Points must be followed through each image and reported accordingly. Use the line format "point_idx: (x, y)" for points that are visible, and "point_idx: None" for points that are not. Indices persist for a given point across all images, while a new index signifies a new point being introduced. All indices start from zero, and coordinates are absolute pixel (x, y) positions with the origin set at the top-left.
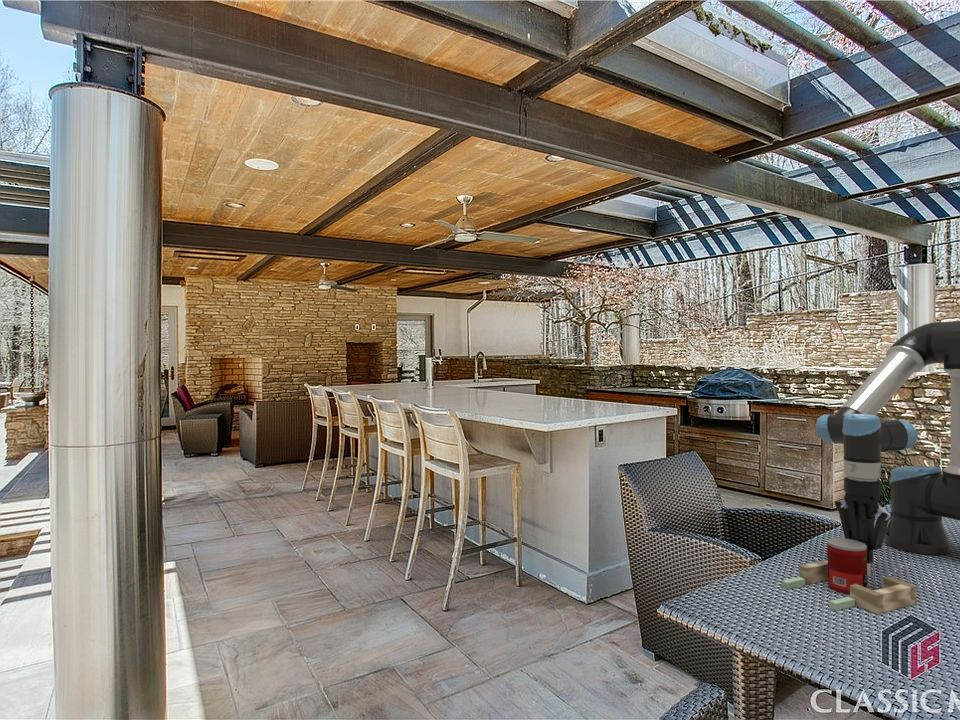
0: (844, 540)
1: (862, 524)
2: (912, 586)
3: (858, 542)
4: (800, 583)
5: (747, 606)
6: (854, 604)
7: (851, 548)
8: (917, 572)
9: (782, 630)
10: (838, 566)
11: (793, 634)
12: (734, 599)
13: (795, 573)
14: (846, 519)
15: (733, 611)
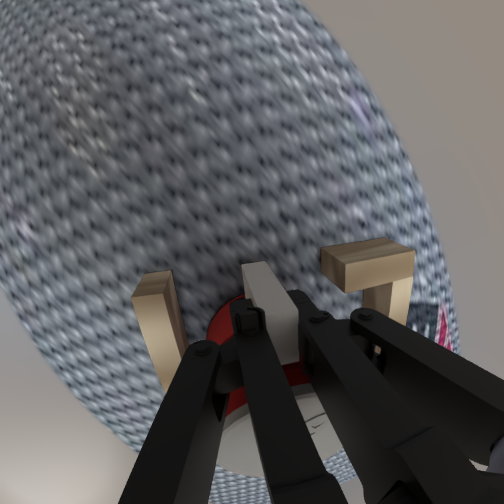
0: (245, 428)
1: (357, 469)
2: (412, 264)
3: (304, 401)
4: None
5: (260, 481)
6: None
7: (340, 448)
8: (217, 10)
9: (329, 469)
10: None
11: (342, 463)
12: (235, 485)
13: (128, 375)
14: (202, 496)
15: (267, 490)
